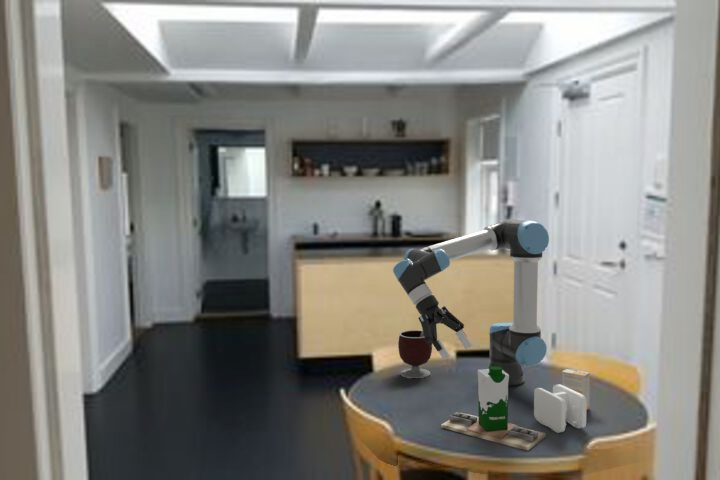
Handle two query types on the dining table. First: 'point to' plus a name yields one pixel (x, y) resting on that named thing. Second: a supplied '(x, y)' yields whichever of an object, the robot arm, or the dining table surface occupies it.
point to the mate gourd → (414, 353)
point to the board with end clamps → (509, 437)
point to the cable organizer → (560, 408)
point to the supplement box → (577, 382)
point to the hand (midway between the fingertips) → (458, 352)
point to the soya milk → (493, 398)
